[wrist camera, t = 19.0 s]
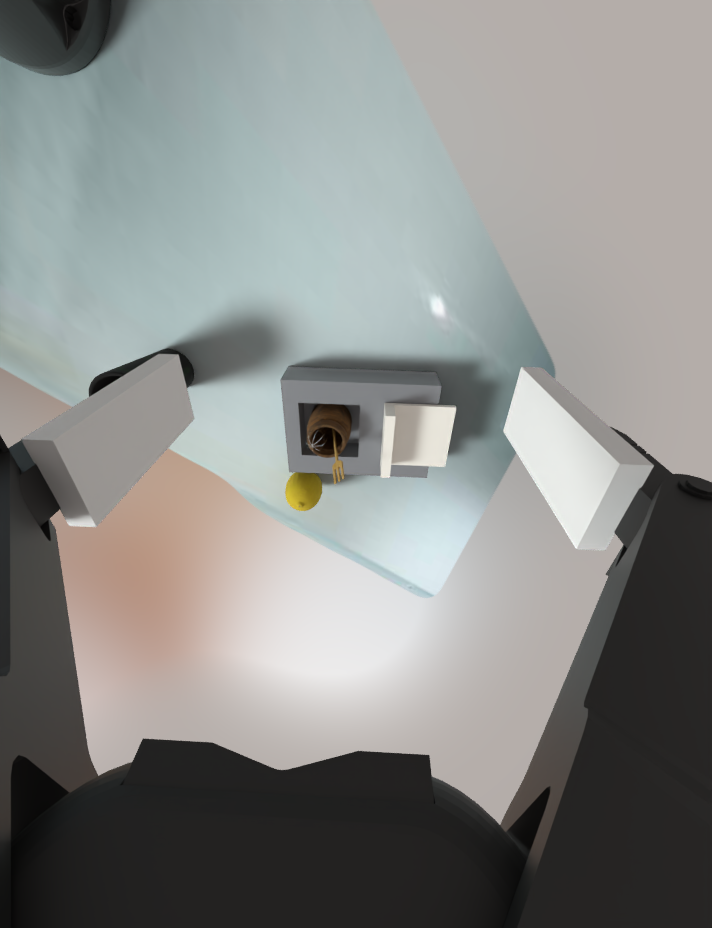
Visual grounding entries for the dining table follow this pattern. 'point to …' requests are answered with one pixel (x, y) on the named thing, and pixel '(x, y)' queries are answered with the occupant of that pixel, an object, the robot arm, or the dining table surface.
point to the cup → (120, 371)
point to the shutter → (415, 435)
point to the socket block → (366, 405)
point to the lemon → (303, 490)
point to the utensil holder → (329, 433)
